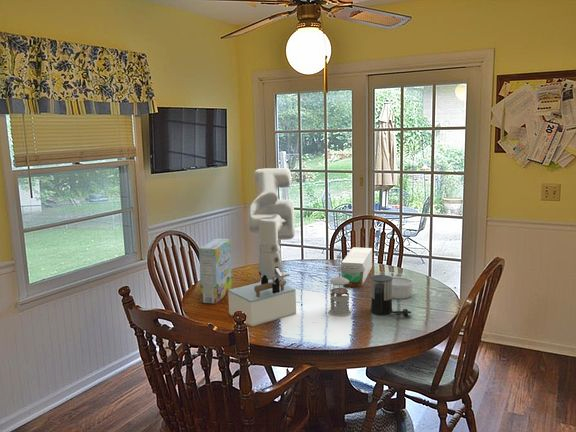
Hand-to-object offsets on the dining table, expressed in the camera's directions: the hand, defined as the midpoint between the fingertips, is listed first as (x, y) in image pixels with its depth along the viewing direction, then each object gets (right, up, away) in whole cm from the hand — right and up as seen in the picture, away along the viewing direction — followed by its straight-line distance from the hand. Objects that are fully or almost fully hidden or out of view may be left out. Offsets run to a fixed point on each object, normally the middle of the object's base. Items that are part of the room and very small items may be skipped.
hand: (270, 290), depth 208 cm
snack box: (-26, -8, +32) cm, 42 cm away
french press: (+29, -10, +7) cm, 31 cm away
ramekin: (+58, -6, +26) cm, 64 cm away
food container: (+38, -4, +40) cm, 55 cm away
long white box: (+44, -1, +60) cm, 74 cm away
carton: (-4, -11, +7) cm, 14 cm away
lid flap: (-4, -1, +6) cm, 7 cm away
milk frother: (+50, -11, +4) cm, 51 cm away
